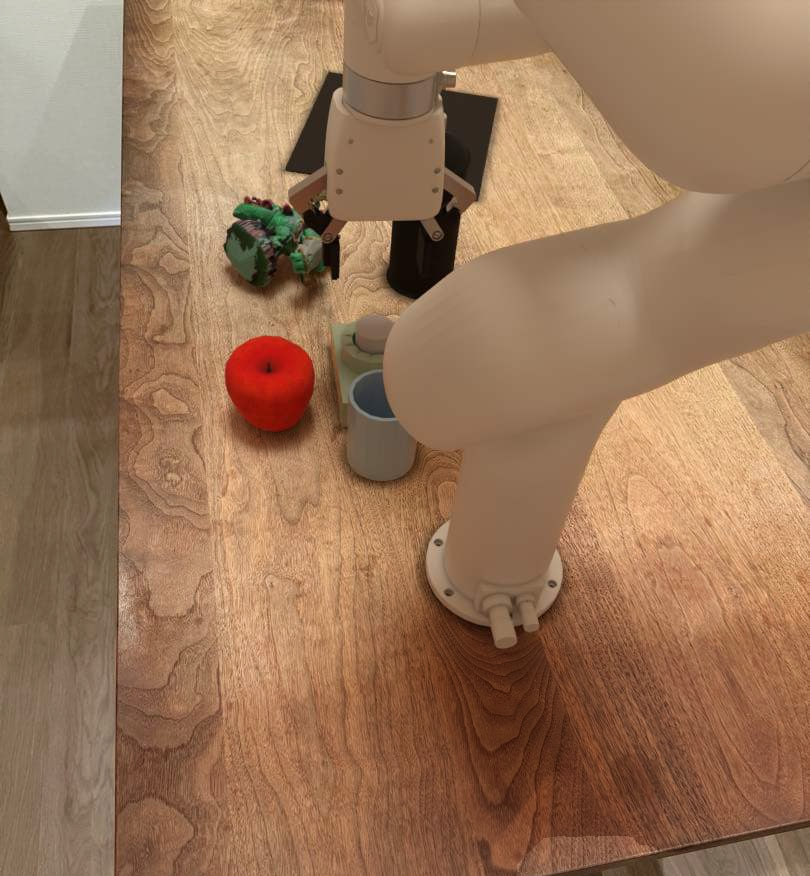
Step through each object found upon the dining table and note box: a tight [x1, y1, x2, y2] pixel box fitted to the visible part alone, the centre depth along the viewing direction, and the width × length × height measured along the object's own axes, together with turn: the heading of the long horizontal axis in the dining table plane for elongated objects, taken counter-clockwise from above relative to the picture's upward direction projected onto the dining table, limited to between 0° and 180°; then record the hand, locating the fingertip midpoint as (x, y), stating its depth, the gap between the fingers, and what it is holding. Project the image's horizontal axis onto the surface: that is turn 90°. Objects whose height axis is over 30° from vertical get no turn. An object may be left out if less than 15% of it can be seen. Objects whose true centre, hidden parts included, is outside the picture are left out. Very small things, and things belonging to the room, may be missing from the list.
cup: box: [346, 369, 418, 482], centre depth 85 cm, size 7×7×8 cm
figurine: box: [222, 190, 342, 288], centre depth 102 cm, size 12×13×15 cm
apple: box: [224, 334, 316, 433], centre depth 87 cm, size 9×9×8 cm
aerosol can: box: [386, 113, 472, 299], centre depth 98 cm, size 8×8×20 cm
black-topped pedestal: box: [284, 71, 499, 201], centre depth 120 cm, size 28×26×13 cm
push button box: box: [330, 318, 396, 428], centre depth 92 cm, size 12×8×6 cm, turn 8°
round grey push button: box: [355, 313, 394, 355], centre depth 90 cm, size 4×4×2 cm
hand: (378, 269), depth 83 cm, fingers open, 8 cm apart
